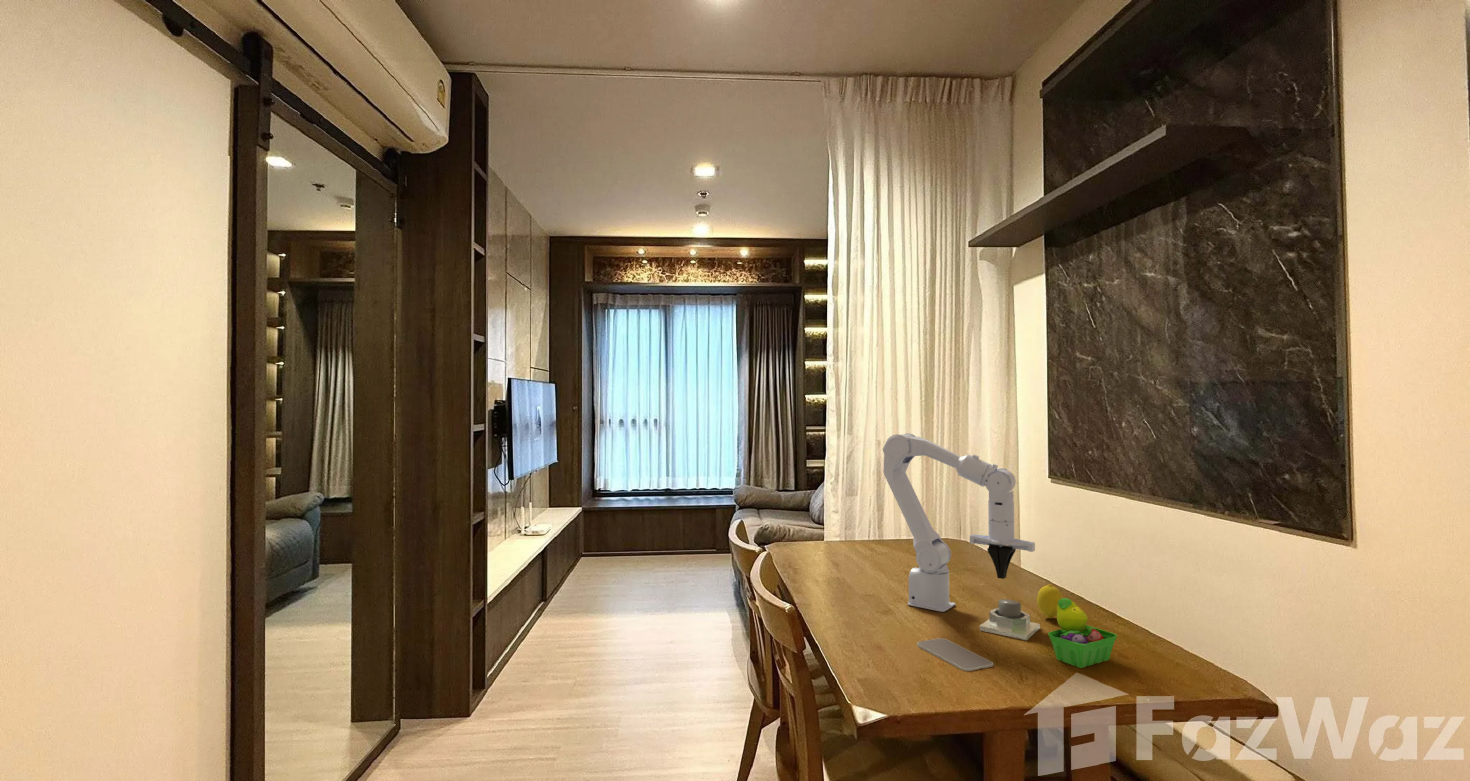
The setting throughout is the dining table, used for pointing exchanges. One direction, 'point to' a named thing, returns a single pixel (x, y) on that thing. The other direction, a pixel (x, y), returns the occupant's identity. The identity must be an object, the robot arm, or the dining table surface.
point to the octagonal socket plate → (1010, 625)
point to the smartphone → (954, 654)
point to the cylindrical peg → (1009, 608)
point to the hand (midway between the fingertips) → (1001, 577)
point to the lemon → (1048, 600)
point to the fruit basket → (1079, 637)
